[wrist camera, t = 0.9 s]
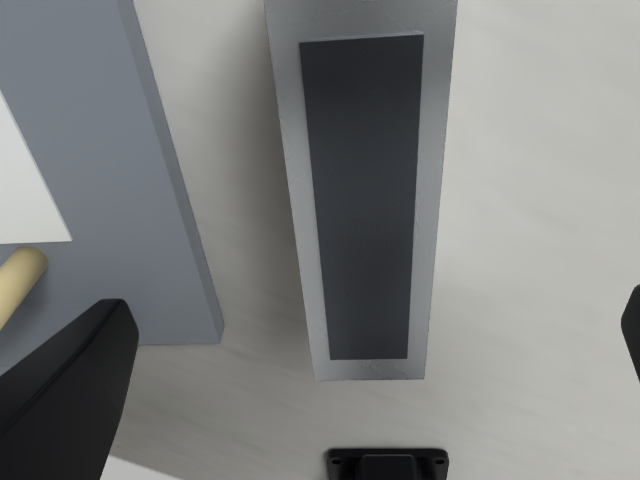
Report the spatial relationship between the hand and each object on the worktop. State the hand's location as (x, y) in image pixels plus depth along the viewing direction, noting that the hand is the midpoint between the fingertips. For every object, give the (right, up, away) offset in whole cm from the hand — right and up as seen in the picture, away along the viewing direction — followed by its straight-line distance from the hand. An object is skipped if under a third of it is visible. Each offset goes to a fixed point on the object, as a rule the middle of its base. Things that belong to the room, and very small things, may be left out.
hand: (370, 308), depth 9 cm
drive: (0, +5, +6) cm, 8 cm away
